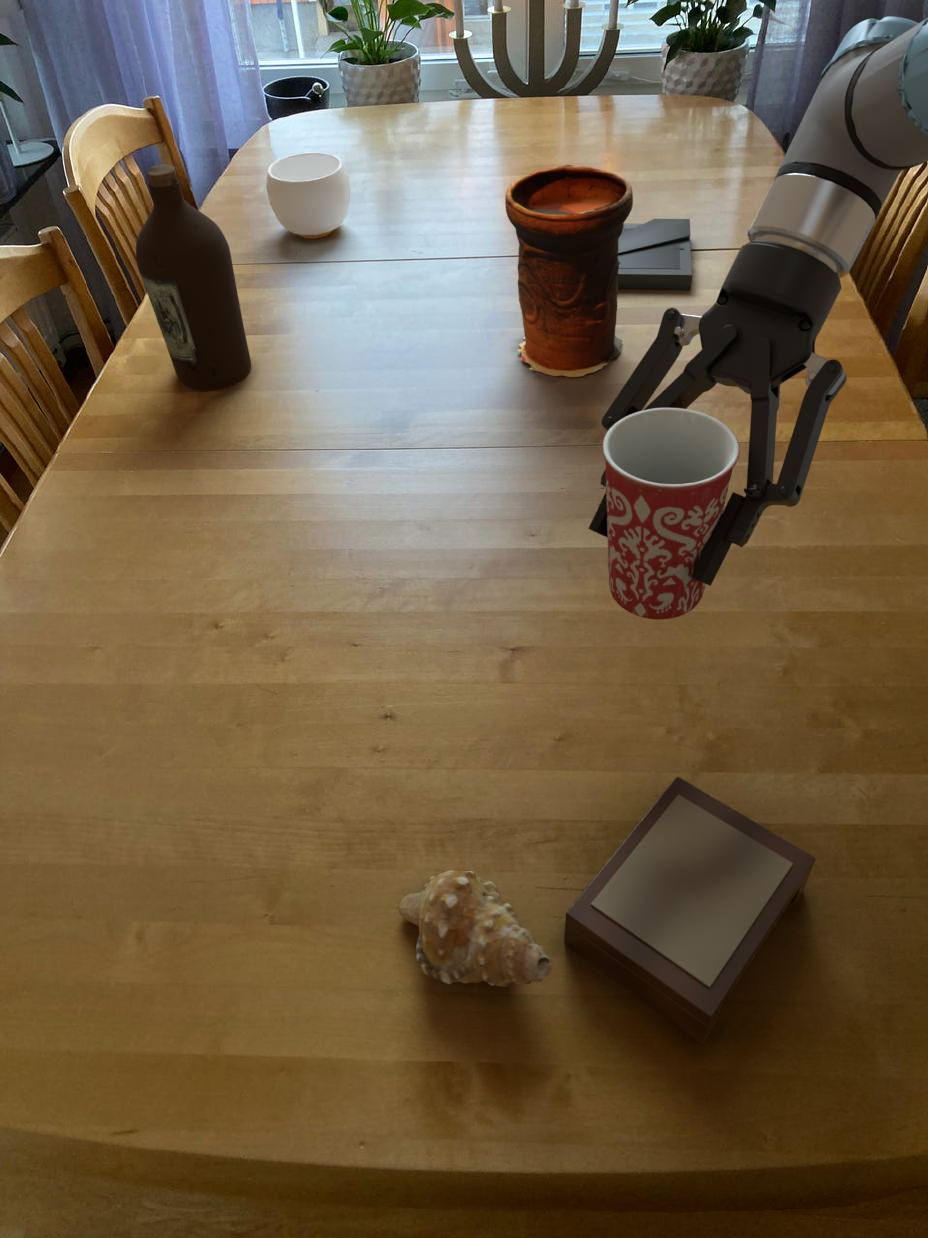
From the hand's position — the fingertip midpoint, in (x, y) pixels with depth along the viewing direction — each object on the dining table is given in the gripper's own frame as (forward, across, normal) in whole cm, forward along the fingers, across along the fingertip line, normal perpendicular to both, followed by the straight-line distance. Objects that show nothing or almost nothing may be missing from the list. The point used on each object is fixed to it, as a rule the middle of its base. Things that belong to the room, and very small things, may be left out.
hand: (648, 556), depth 71 cm
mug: (+1, 0, -6) cm, 6 cm away
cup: (-23, +90, -46) cm, 104 cm away
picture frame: (-35, +46, -58) cm, 82 cm away
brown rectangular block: (+22, -14, -2) cm, 26 cm away
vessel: (-19, +38, -42) cm, 59 cm away
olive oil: (+3, +71, -20) cm, 74 cm away
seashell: (+30, -4, +6) cm, 30 cm away
